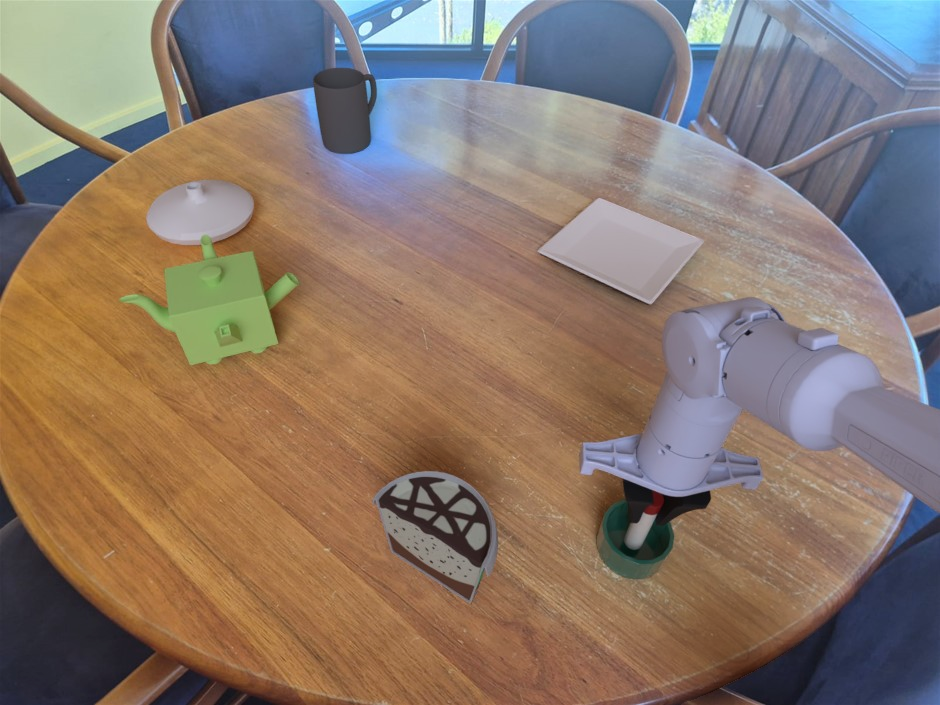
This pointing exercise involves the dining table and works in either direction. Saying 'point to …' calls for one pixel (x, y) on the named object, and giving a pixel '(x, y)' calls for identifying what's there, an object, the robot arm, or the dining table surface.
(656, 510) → the marker
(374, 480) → the dining table surface
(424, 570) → the cake slice
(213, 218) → the grey lid
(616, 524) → the thermos cup
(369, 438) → the dining table surface
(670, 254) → the plate
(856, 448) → the robot arm
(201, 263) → the kettle
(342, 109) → the mug
